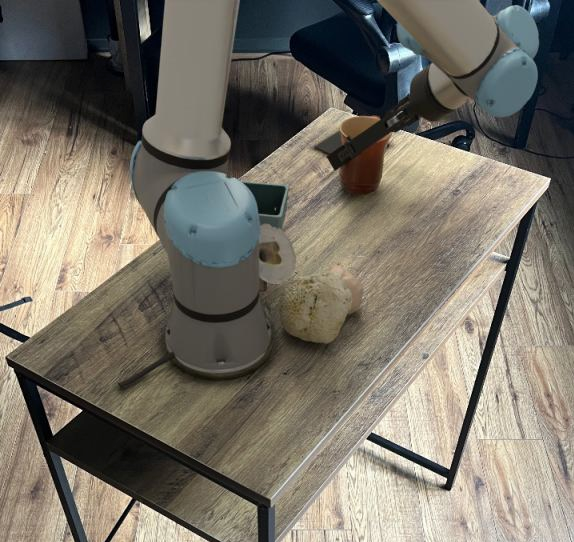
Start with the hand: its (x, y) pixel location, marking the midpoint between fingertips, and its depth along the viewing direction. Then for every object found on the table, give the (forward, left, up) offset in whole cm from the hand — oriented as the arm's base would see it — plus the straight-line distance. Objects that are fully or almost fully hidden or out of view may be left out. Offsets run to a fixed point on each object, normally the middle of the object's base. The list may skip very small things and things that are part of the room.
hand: (353, 148), depth 141 cm
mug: (0, -2, -5) cm, 6 cm away
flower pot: (-26, -1, -6) cm, 27 cm away
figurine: (-35, -13, +4) cm, 38 cm away
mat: (+9, +6, -6) cm, 12 cm away
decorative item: (-37, -24, -5) cm, 45 cm away
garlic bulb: (-33, -21, -3) cm, 39 cm away
